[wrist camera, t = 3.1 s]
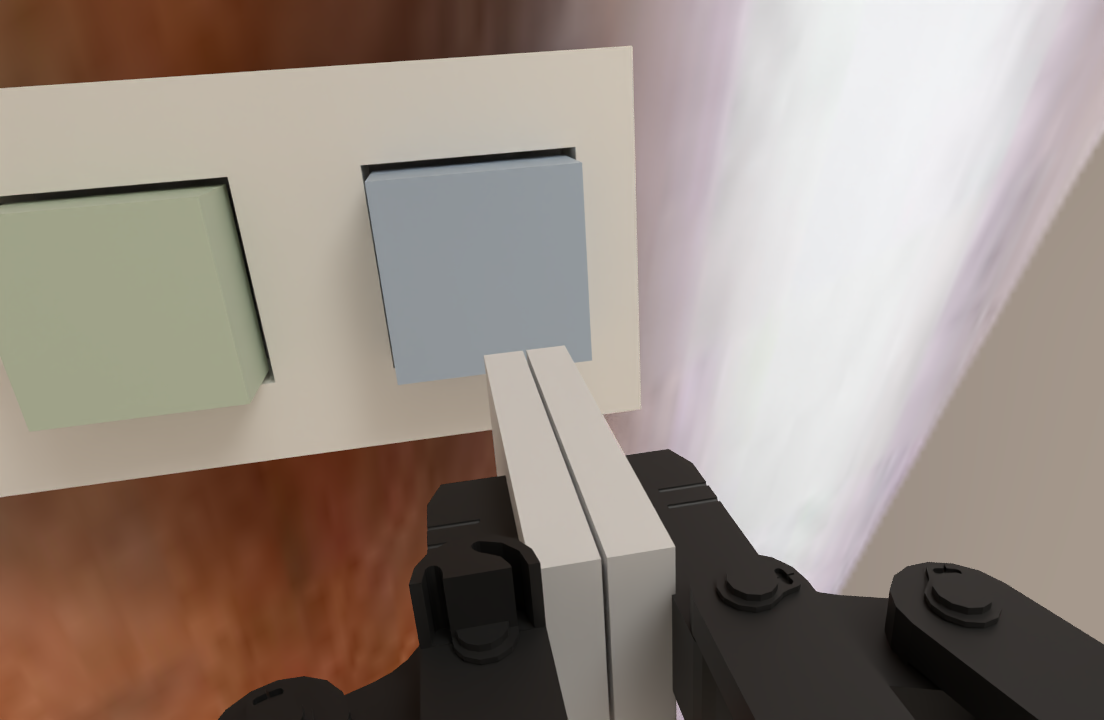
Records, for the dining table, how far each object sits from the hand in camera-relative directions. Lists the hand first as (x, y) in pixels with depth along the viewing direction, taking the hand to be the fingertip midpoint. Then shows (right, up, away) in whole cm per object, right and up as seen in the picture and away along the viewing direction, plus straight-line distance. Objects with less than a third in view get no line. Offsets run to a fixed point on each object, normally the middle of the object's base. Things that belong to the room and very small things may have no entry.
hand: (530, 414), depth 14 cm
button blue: (-2, +5, +13) cm, 14 cm away
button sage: (-14, +4, +11) cm, 18 cm away
